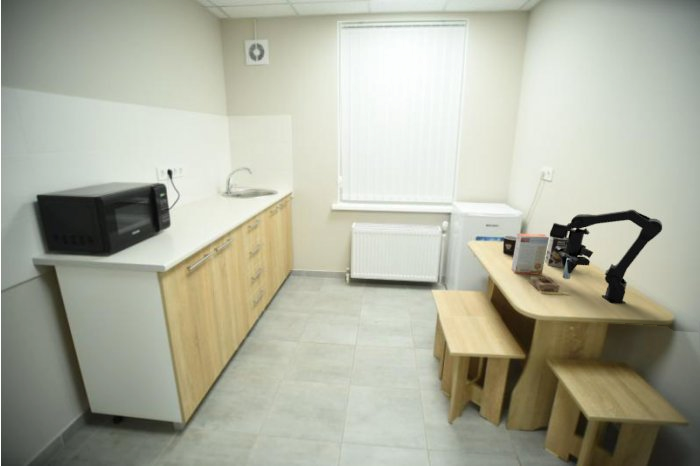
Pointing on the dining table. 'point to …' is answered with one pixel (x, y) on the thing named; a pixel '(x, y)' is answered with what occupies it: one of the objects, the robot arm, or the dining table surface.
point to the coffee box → (551, 255)
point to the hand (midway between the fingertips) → (567, 271)
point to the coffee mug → (509, 245)
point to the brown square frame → (544, 284)
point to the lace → (553, 293)
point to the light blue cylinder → (566, 270)
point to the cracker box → (529, 253)
